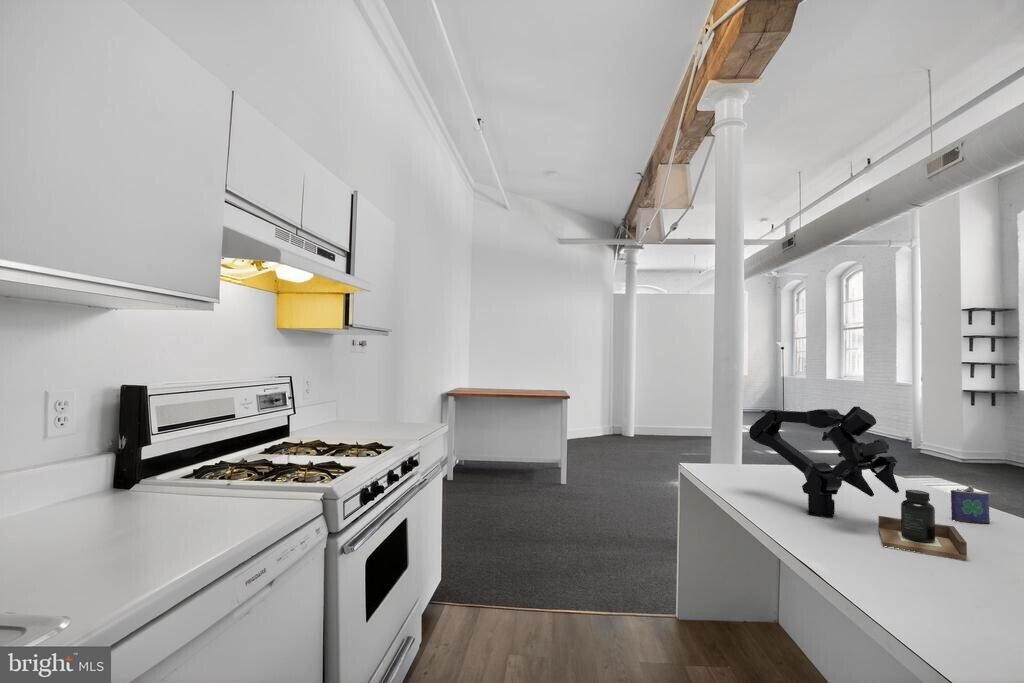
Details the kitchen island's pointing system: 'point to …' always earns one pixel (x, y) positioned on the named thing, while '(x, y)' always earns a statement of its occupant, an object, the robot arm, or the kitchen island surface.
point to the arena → (944, 545)
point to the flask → (970, 506)
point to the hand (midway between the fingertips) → (885, 494)
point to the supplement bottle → (918, 517)
